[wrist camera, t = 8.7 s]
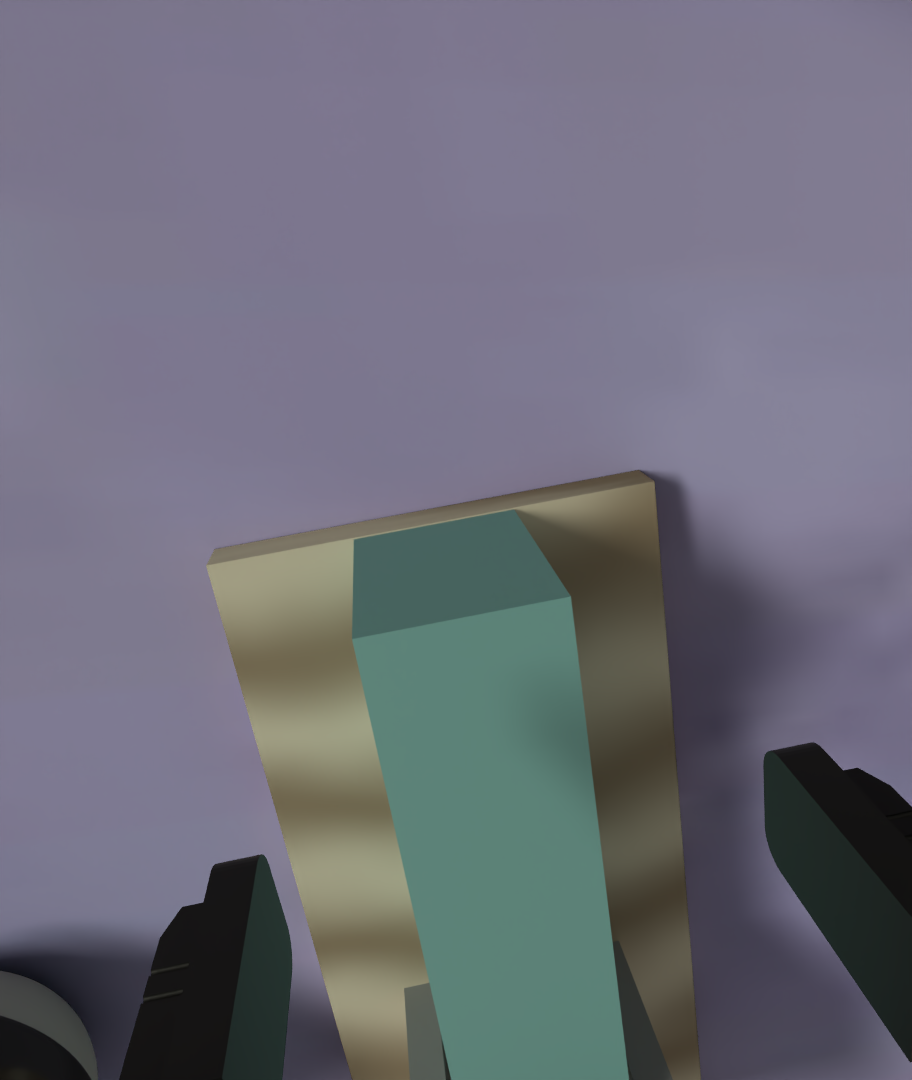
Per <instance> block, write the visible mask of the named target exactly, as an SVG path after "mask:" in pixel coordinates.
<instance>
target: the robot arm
mask: <svg viewBox="0 0 912 1080" xmlns="http://www.w3.org/2000/svg"><path fill="white" fill-rule="evenodd" d="M764 805H765V832H766V837H767V842H768V845H769V848H770V851H771V854H772V856H773V859H774V861H775V863H776V865H777V867H778V868H779V870H780V872H781V873H782V875H783V876H784V878H785V879H786V880H787V882H788V883H789V885H790V886H791V888H792V889H793V891H794V892H795V894H796V895H797V897H798V898H799V900H800V901H801V903H802V904H803V905H804V907H805V908H806V910H807V911H808V913H809V914H810V916H811V917H812V919H813V920H814V922H815V923H816V925H817V926H818V928H819V929H820V930H821V932H822V933H823V935H824V936H825V938H826V939H827V941H828V942H829V944H830V945H831V947H832V948H833V950H834V951H835V953H836V954H837V955H838V957H839V958H840V960H841V961H842V963H843V964H844V966H845V967H846V969H847V970H848V972H849V973H850V975H851V976H852V978H853V979H854V980H855V982H856V983H857V985H858V986H859V988H860V989H861V991H862V992H863V994H864V995H865V997H866V998H867V1000H868V1001H869V1002H870V1004H871V1005H872V1007H873V1008H874V1010H875V1011H876V1013H877V1014H878V1016H879V1017H880V1019H881V1020H882V1022H883V1023H884V1025H885V1026H886V1027H887V1029H888V1030H889V1032H890V1033H891V1035H892V1036H893V1038H894V1039H895V1041H896V1042H897V1044H898V1045H899V1047H900V1048H901V1050H902V1051H903V1052H904V1054H905V1055H906V1057H907V1058H908V1060H909V1061H910V1062H912V807H911V806H910V805H909V804H908V803H907V802H906V801H905V800H904V799H903V798H902V797H901V796H900V795H899V794H898V793H897V792H896V791H895V790H894V789H893V788H892V787H891V786H890V785H888V784H886V783H885V782H883V781H881V780H879V779H877V778H875V777H874V776H872V775H870V774H868V773H866V772H864V771H863V770H861V769H859V768H854V769H849V770H844V771H843V770H842V769H841V768H840V767H839V766H838V765H837V764H836V762H835V761H834V760H833V759H832V758H831V757H830V756H829V755H828V754H827V753H826V752H825V751H824V750H823V749H822V748H821V747H820V746H819V745H818V744H816V743H807V744H802V745H797V746H792V747H787V748H782V749H778V750H773V751H768V752H767V753H766V754H765V757H764ZM291 978H292V950H291V941H290V935H289V930H288V926H287V923H286V920H285V916H284V913H283V910H282V907H281V903H280V900H279V897H278V893H277V890H276V887H275V884H274V880H273V877H272V874H271V870H270V867H269V864H268V861H267V859H266V857H265V856H264V855H262V854H261V855H256V856H252V857H247V858H242V859H237V860H232V861H227V862H223V863H218V864H215V865H214V866H213V868H212V870H211V873H210V877H209V882H208V886H207V890H206V894H205V898H204V903H199V904H194V905H190V906H185V907H182V908H181V909H180V911H179V912H178V913H177V915H176V916H175V918H174V919H173V920H172V922H171V923H170V925H169V926H168V927H167V929H166V930H165V932H164V933H163V934H162V936H161V937H160V940H159V943H158V947H157V950H156V954H155V957H154V961H153V964H152V968H151V976H149V978H148V982H147V985H146V988H145V992H144V995H143V999H144V1002H143V1003H142V1004H141V1006H140V1009H139V1013H138V1016H137V1020H136V1023H135V1027H134V1030H133V1034H132V1037H131V1040H130V1044H129V1047H128V1051H127V1054H126V1058H125V1061H124V1065H123V1068H122V1072H121V1075H120V1079H119V1080H282V1075H283V1065H284V1054H285V1043H286V1032H287V1021H288V1010H289V999H290V988H291Z"/></svg>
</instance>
